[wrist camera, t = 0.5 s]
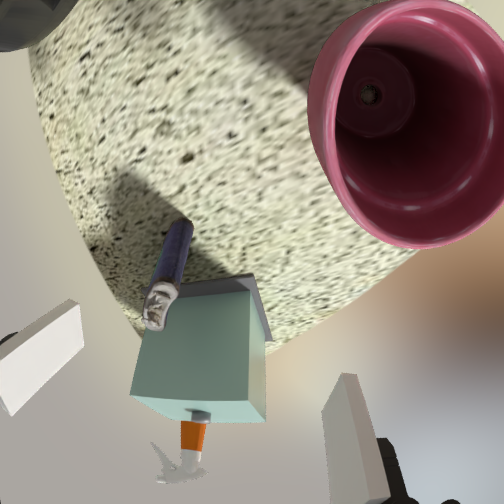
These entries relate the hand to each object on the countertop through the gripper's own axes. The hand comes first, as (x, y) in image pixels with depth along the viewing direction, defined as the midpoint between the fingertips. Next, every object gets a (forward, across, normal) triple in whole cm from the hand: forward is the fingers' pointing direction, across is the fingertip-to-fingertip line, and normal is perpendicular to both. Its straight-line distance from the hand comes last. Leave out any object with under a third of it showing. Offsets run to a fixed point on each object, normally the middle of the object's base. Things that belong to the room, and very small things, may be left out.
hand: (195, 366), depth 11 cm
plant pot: (+13, +8, +19) cm, 24 cm away
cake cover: (+26, -4, -13) cm, 29 cm away
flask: (+20, -8, -1) cm, 21 cm away
